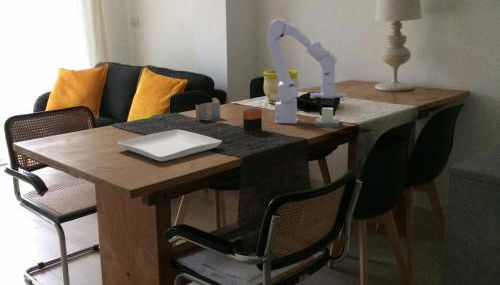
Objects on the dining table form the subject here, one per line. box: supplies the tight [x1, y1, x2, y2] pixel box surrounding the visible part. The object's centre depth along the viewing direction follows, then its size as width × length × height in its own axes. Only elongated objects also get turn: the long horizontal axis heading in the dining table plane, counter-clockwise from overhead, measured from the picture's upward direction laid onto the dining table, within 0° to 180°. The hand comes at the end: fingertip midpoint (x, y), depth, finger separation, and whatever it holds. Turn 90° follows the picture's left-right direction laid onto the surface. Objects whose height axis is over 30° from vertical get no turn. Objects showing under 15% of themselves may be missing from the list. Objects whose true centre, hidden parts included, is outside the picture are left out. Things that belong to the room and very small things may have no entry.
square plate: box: [117, 129, 223, 162], centre depth 182 cm, size 27×27×4 cm
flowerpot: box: [262, 69, 299, 105], centre depth 267 cm, size 18×18×16 cm
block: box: [321, 107, 334, 122], centre depth 217 cm, size 4×4×5 cm
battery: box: [242, 106, 263, 132], centre depth 206 cm, size 4×7×10 cm, turn 136°
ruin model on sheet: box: [194, 97, 221, 120], centre depth 231 cm, size 11×3×10 cm, turn 126°
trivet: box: [314, 117, 341, 128], centre depth 217 cm, size 10×10×2 cm
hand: (327, 115), depth 217 cm, fingers open, 5 cm apart
